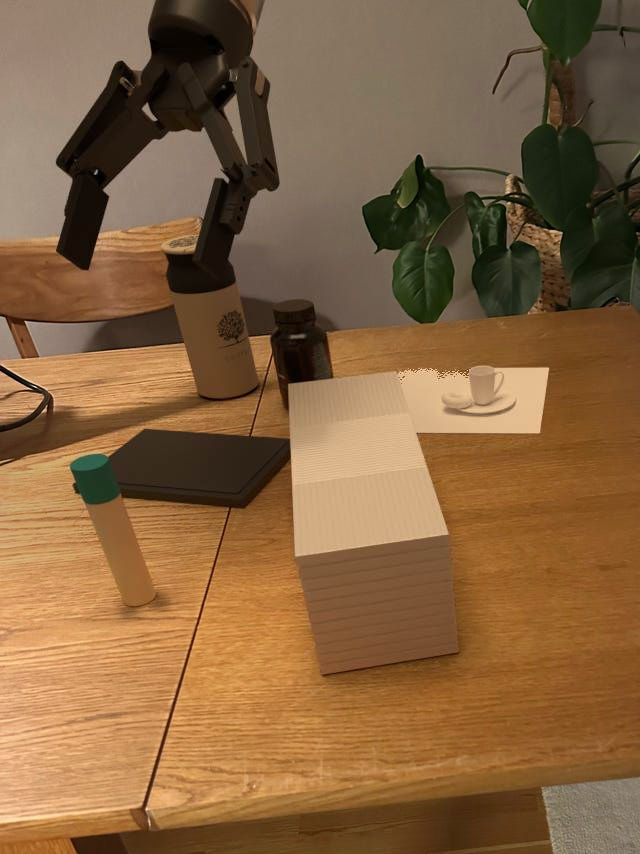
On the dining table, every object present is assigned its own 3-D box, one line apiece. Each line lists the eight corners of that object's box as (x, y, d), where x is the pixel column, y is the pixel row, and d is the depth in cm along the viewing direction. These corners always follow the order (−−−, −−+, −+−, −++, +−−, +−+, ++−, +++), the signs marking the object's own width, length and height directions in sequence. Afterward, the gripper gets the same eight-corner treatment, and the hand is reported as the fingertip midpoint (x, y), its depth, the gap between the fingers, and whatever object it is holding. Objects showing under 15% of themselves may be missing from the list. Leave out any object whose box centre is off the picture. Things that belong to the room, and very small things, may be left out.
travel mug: (187, 389, 111) (147, 243, 100) (241, 372, 115) (208, 229, 103) (215, 405, 106) (175, 254, 95) (270, 387, 110) (238, 239, 98)
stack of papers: (459, 652, 65) (448, 533, 58) (321, 675, 64) (294, 556, 57) (407, 469, 90) (396, 370, 83) (307, 482, 88) (287, 383, 82)
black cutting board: (75, 492, 89) (71, 483, 89) (146, 436, 100) (144, 427, 99) (244, 508, 85) (241, 498, 84) (300, 447, 95) (299, 438, 95)
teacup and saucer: (439, 416, 100) (436, 383, 97) (449, 390, 106) (446, 358, 103) (512, 417, 99) (511, 383, 96) (518, 390, 105) (517, 358, 102)
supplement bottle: (272, 409, 104) (250, 311, 96) (303, 389, 109) (285, 293, 101) (317, 417, 101) (299, 316, 94) (348, 396, 106) (333, 298, 99)
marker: (116, 604, 72) (61, 468, 64) (134, 586, 75) (84, 452, 67) (145, 608, 72) (94, 471, 64) (163, 589, 74) (116, 454, 66)
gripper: (365, 46, 66) (296, 301, 65) (121, 56, 74) (57, 281, 73) (317, -40, 59) (239, 245, 57) (54, -18, 67) (-19, 230, 66)
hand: (137, 266), depth 65 cm, fingers open, 13 cm apart
